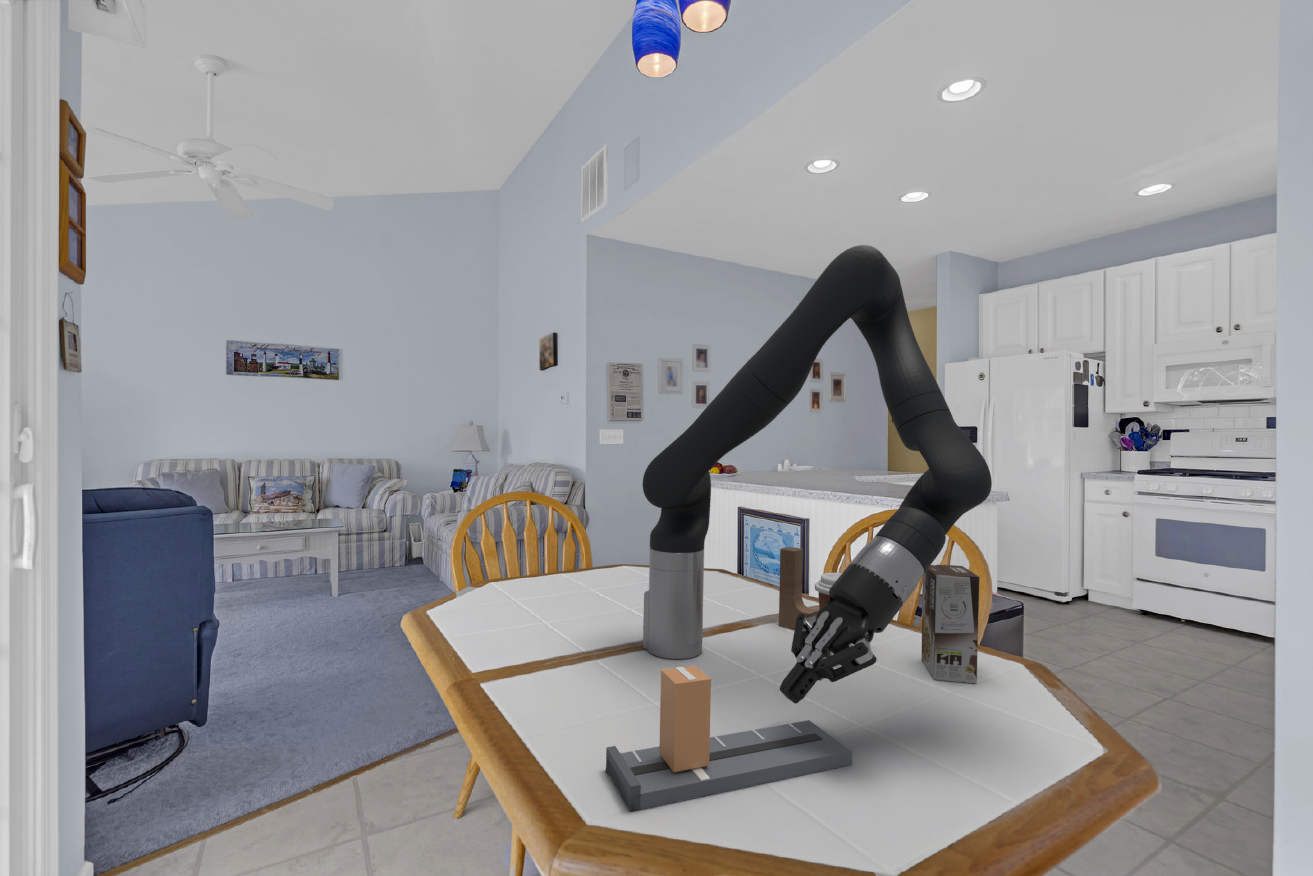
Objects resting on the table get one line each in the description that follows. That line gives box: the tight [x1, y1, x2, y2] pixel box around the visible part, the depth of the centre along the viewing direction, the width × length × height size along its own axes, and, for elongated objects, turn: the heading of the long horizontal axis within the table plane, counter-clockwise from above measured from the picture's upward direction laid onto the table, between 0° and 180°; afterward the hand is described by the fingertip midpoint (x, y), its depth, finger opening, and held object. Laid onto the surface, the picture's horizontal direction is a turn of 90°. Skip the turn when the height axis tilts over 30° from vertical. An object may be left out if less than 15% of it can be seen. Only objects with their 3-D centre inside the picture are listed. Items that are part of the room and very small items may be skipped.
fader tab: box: [658, 665, 712, 772], centre depth 66 cm, size 4×4×9 cm
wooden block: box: [778, 546, 818, 630], centre depth 119 cm, size 7×3×15 cm, turn 48°
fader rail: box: [605, 719, 853, 813], centre depth 68 cm, size 26×8×2 cm, turn 112°
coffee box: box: [921, 564, 981, 684], centre depth 98 cm, size 9×6×16 cm
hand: (787, 697), depth 71 cm, fingers closed
